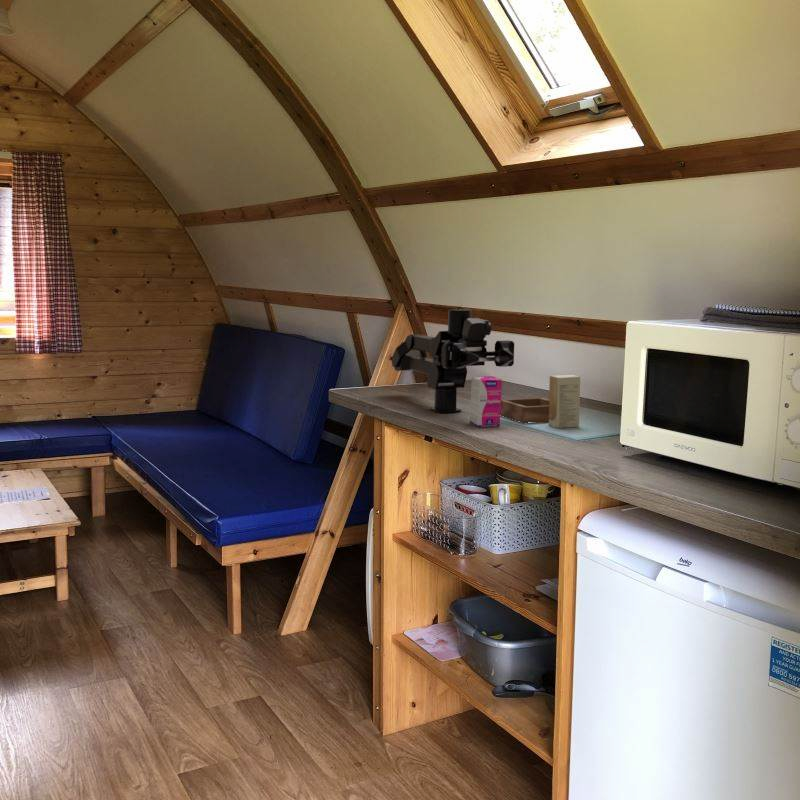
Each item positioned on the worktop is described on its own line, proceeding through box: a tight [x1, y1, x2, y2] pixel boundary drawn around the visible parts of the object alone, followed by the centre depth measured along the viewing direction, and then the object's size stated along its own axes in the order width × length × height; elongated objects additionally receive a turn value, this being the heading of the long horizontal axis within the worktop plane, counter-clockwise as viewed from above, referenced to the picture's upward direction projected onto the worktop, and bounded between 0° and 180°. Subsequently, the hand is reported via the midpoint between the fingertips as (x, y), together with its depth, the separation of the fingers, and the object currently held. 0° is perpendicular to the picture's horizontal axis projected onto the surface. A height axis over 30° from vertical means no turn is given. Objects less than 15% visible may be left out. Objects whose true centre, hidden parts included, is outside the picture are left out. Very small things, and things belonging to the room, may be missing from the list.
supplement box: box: [469, 375, 503, 428], centre depth 211 cm, size 6×6×12 cm
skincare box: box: [548, 374, 581, 429], centre depth 211 cm, size 6×4×12 cm
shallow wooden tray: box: [500, 397, 549, 424], centre depth 222 cm, size 12×12×4 cm
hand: (495, 358), depth 206 cm, fingers open, 9 cm apart
